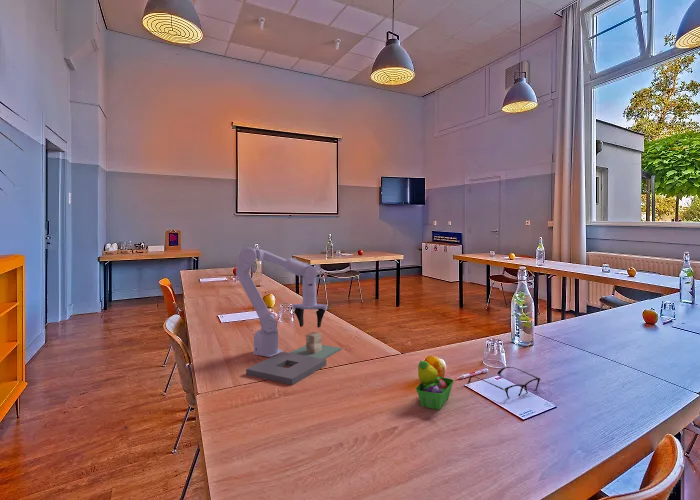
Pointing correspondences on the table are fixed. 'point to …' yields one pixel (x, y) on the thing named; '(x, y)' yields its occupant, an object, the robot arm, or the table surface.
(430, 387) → the fruit basket
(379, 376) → the table surface
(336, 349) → the rubber mat
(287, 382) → the pocket plate
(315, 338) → the birch block
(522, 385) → the eyeglasses
